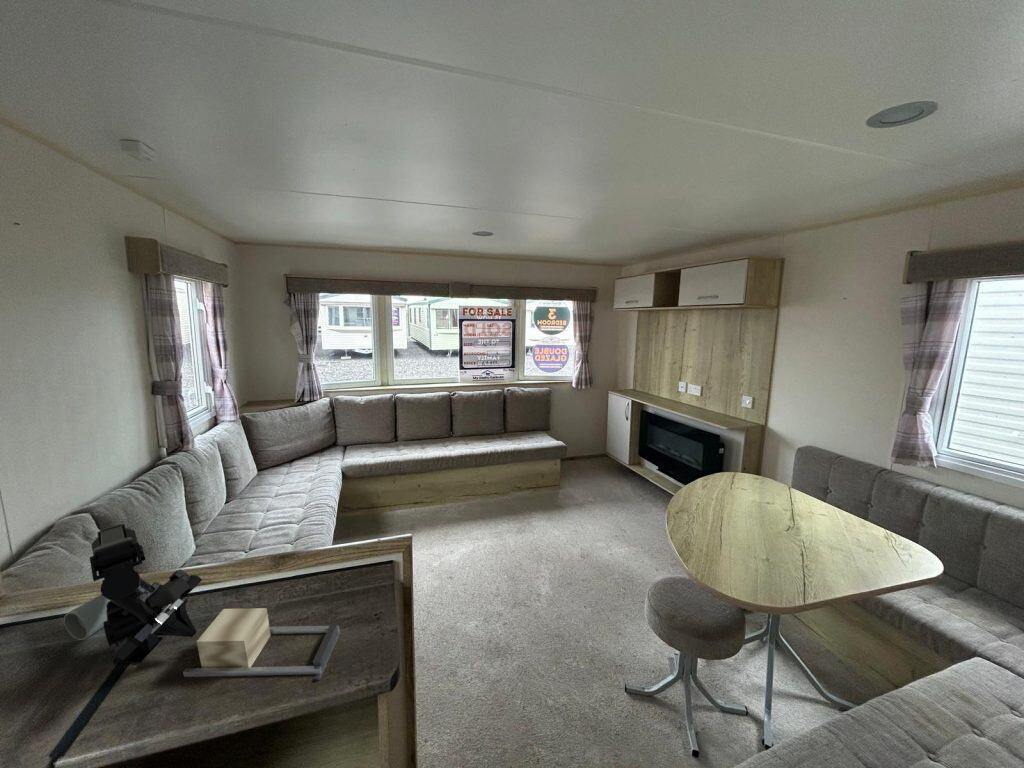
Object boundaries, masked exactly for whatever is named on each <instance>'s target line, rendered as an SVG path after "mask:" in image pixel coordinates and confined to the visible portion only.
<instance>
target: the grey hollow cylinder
mask: <svg viewBox="0 0 1024 768" xmlns="http://www.w3.org/2000/svg"><path fill="white" fill-rule="evenodd" d="M109 601H110V600H109V599H107V598H105V597H104V596H102V595H101V594H100V595H98V596H96V597H94V598H93V599H91V600H89V601H87V602H85V603H82V604H81V605H79V606H78V607H75V608H73V609H72V610H70V611H68V612H66V614H65V615H64V618H63V624H64V627H65V629H66V631H67V632H68V634H69V635H70V636H71V637H73V638H74V639H75V640H78V641H83V640H86V639H88V638H89V637H91V636H92V635H94V634H95V633H97V632H98V631H99V630H101V629H104V624H103V622H104V621H107V614H106V610H107V607H106V605H107V603H108V602H109Z"/></svg>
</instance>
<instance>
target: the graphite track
mask: <svg viewBox="0 0 1024 768" xmlns="http://www.w3.org/2000/svg"><path fill="white" fill-rule="evenodd" d="M269 627H270V634H271V635H278V634H280V635H282V634H283V635H284V634H289V635H290V634H291V635H292V634H325V635H324V637H323V639H322V641H321V643H320V645H319V648H318V650H317V651H316V654H315V656H314V659H313V660H312V663H313V665H300V666H299V665H297V666H296V665H295V666H294V665H293V666H253V667H252V666H251V667H238V668H202V667H197V668H196V667H195V668H185V669H184V670H183V671H182V674H183V677H184V678H189V677H190V678H192V677H198V678H199V677H236V676H238V677H239V676H241V677H243V676H284V675H285V676H286V675H287V676H288V675H291V676H292V675H296V676H297V675H314V676H313V679H312V681H320V680H321V678H322V676H323V673H324V671H325V669H326V667H327V665H328V662H329V660H330V658H331V655H332V653H333V650H334V648H335V646H336V644H337V641H338V640H339V639H338V638H339V637H340V635H341V630H340V625H338V623H330V624H329V625H300V626H299V625H296V626H295V625H294V626H293V625H292V626H288V625H287V626H286V625H285V626H269Z"/></svg>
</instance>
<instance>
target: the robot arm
mask: <svg viewBox="0 0 1024 768" xmlns="http://www.w3.org/2000/svg"><path fill="white" fill-rule="evenodd" d="M91 551H92V556H89V562H90V568H91V569H90V570H91V575H92V580H93V582H96V581H99V580H102V583H101V586H100V595H102V596H104V597H105V598H107V599H109V600H110V601H109V602H108V603H107V605H106V607H107V610H106V614H107V621H104V622H103V624H104V627H103V629H104V634H105V637H106V640H107V643H108V647H111V646H113V645H115V646H116V648H114V653H115V657H114V659H112V664H140V663H142V662H143V661H144V660H145V659H146V658H147V656H149V654H150V653H151V652H153V650H154V649H155V648H156V647H157V646H158V645H159V643H161V641H162V640H163V639H164V638H163V637H164V636H168V637H169V636H170V637H171V636H172V637H183V638H184V637H185V638H193V637H194V636H195V634H197V632H198V631H197V629H196V627H195V626H194V624H193V622H192V620H191V618H190V617H189V615H188V613H187V612H188V611H187V609H186V608H187V602H188V601H189V598H188V597H187V596H188V595H189V593H191V591H193V590H194V589H195V588H196V587H198V585H199V584H200V583H201V582H202V581H203V580H204V579H203V578H201V577H200V576H199V575H197V574H195V575H194V574H191V575H189V574H188V573H187V572H185V571H184V570H182V569H178V570H176V571H174V572H173V573H172V574H171V575H170V576H169V580H167V582H166V583H164V584H161V583H160V582H158V581H154V582H153V583H150V582H147V580H145V579H143V578H142V577H141V576H140V574H139V573H138V571H136V570H135V567H138V566H141V565H143V561H146V556H145V553H144V548H143V545H142V544H140V543H139V541H138V538H137V534H136V530H134V529H130V528H126V525H125V523H123V524H121V523H120V524H119V523H118V524H116V525H112V526H109V527H106V528H103V529H100V530H99V531H97V537H96V538H95V539H94V541H92V542H91ZM184 598H185V599H184Z"/></svg>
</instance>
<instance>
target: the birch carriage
mask: <svg viewBox="0 0 1024 768" xmlns="http://www.w3.org/2000/svg"><path fill="white" fill-rule="evenodd" d="M270 627H271V626H270V622H269V615H268V608H266V607H262V608H261V607H259V608H257V607H256V608H254V607H253V608H252V607H251V608H223V609H222V610H221V611H220V612H219V614H218V615H217V616H216V618H215V619H213V621H212V622H211V623H210V625H209V626H208V627H207V628H206V630H204V632H203V633H202V634H201V635H200V637H199V638H198V639H197V640H196V645H197V646H196V647H197V650H198V656H199V661H200V665H201V668H238V667H252V666H253V664H254V662H255V661H256V659H257V658H258V656H259V655H260V653H261V651H262V650H263V648H264V647H265V645H266V643H267V642H268V640H269V639H270V637H271V636H272V634H270Z"/></svg>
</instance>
